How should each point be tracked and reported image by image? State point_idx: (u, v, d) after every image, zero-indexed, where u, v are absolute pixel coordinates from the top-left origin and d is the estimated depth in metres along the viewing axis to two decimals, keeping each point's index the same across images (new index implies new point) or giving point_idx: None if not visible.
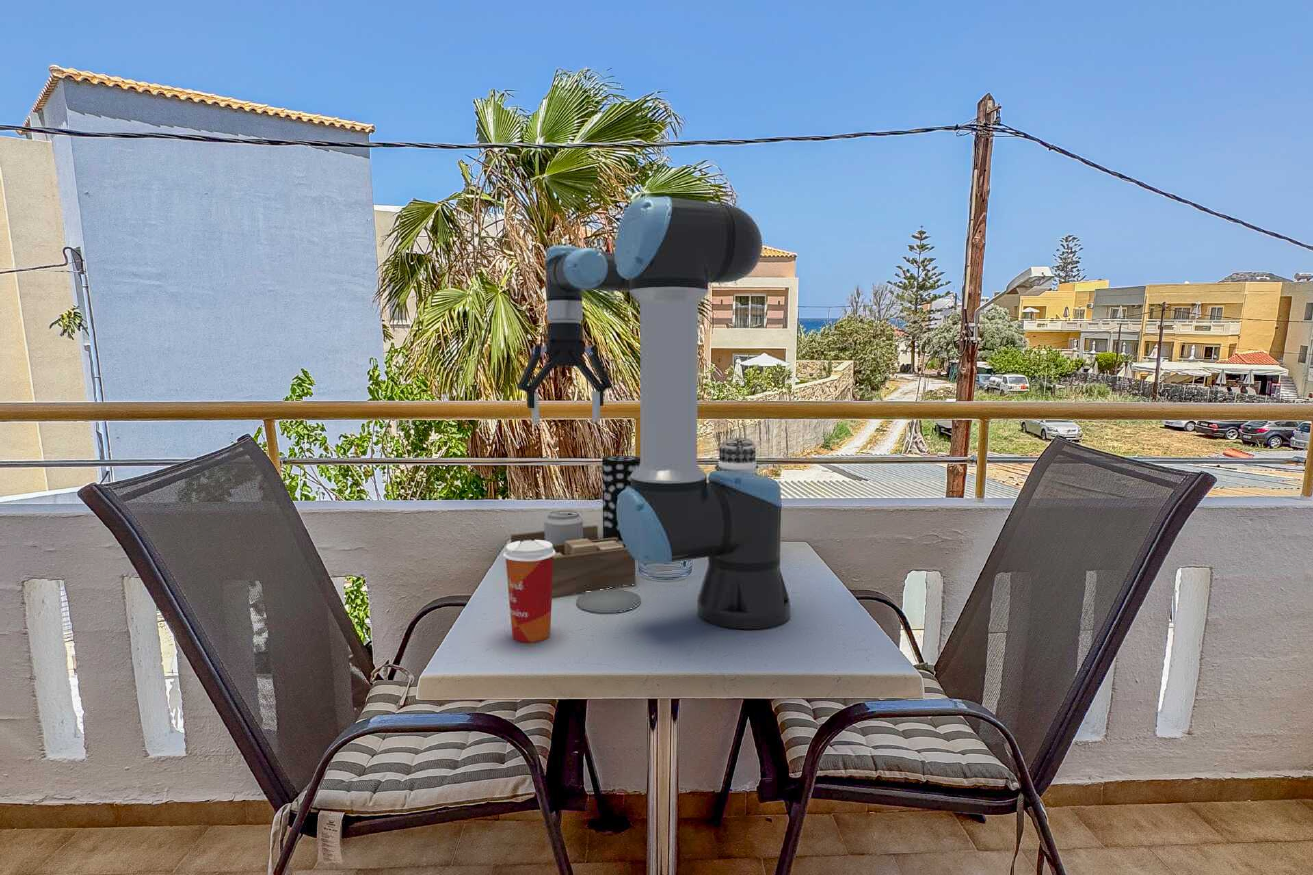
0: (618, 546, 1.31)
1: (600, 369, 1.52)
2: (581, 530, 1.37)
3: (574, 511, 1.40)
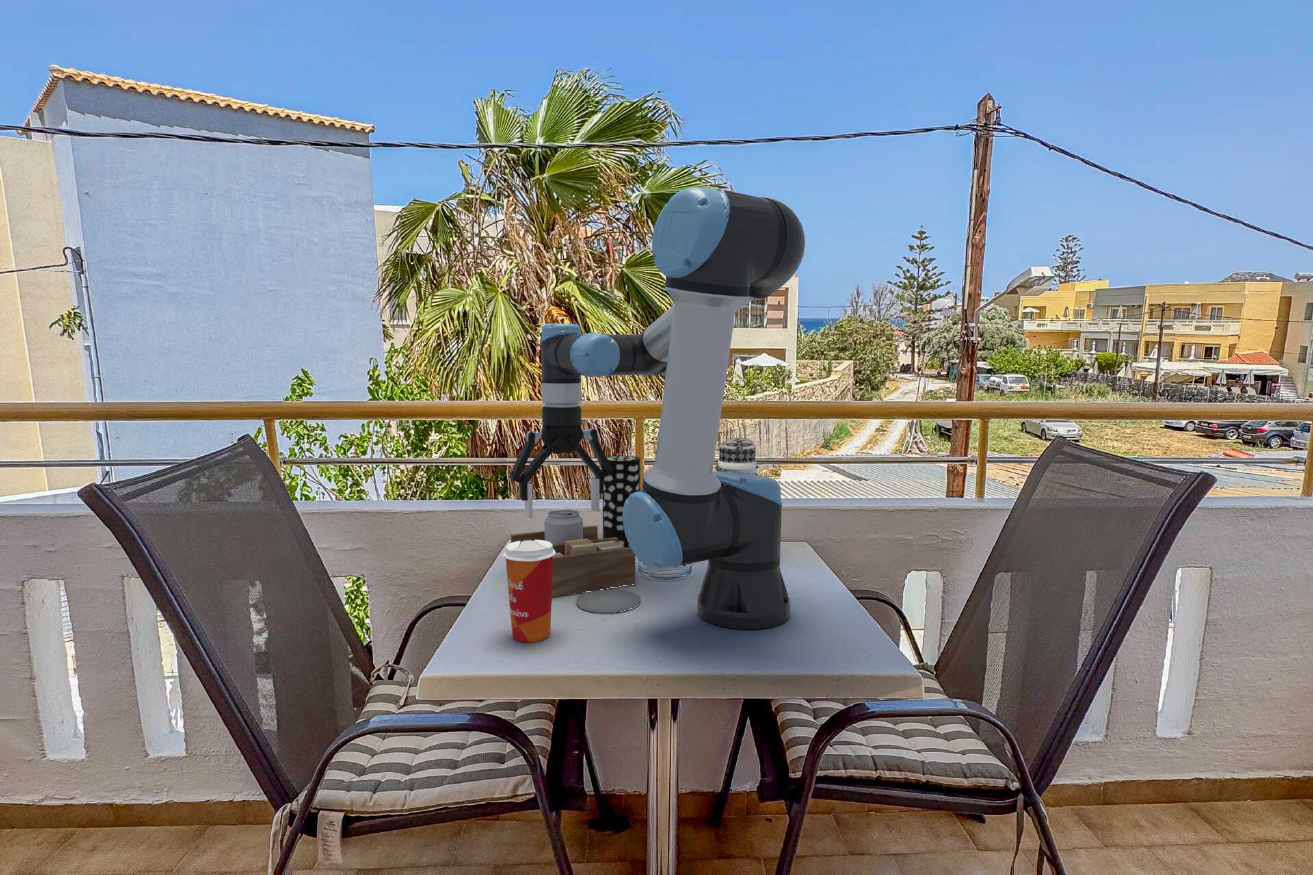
0: (618, 546, 1.31)
1: (600, 454, 1.39)
2: (581, 530, 1.37)
3: (574, 511, 1.40)
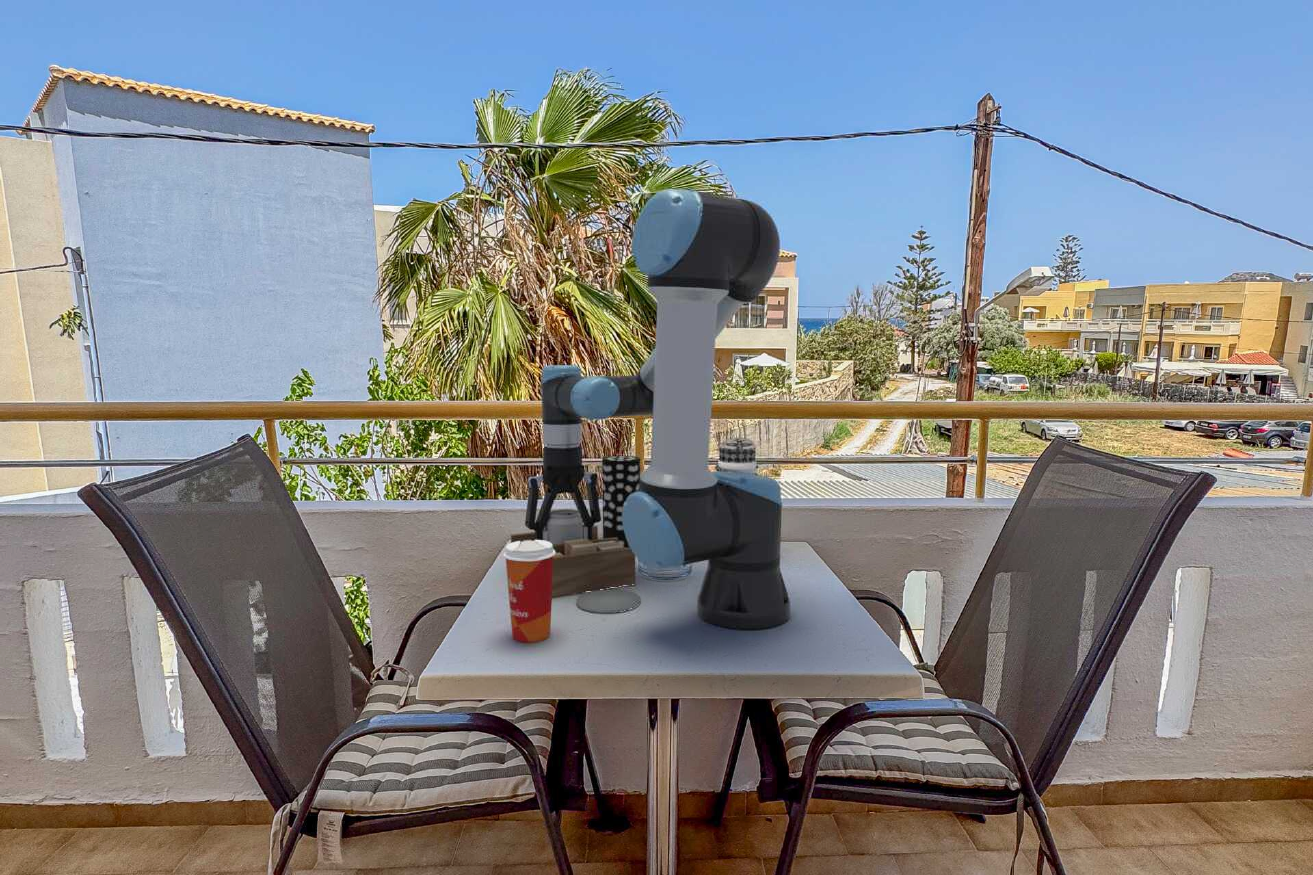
0: (618, 546, 1.31)
1: (594, 500, 1.39)
2: (581, 530, 1.37)
3: (574, 511, 1.40)
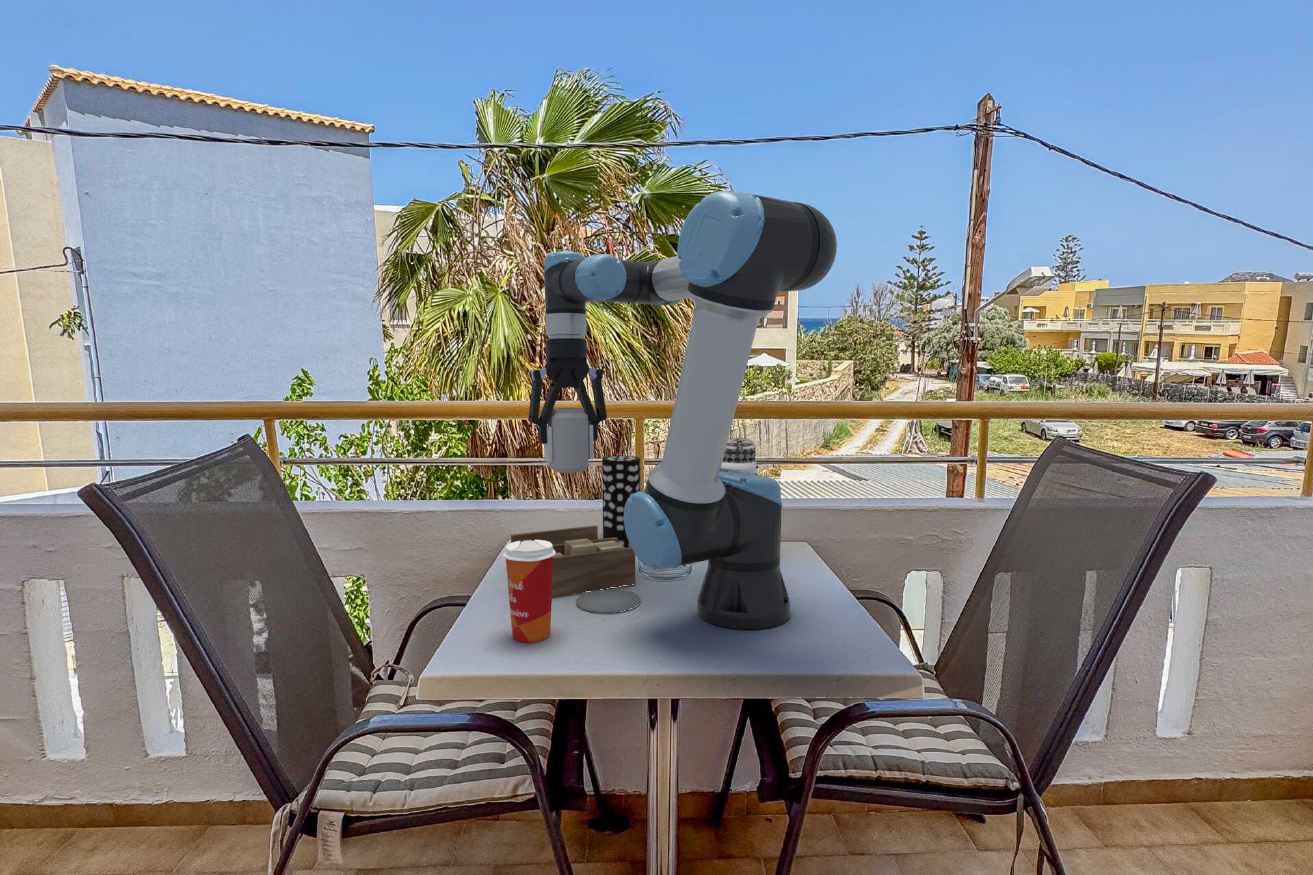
0: (618, 546, 1.31)
1: (599, 396, 1.34)
2: (586, 426, 1.32)
3: (579, 409, 1.35)
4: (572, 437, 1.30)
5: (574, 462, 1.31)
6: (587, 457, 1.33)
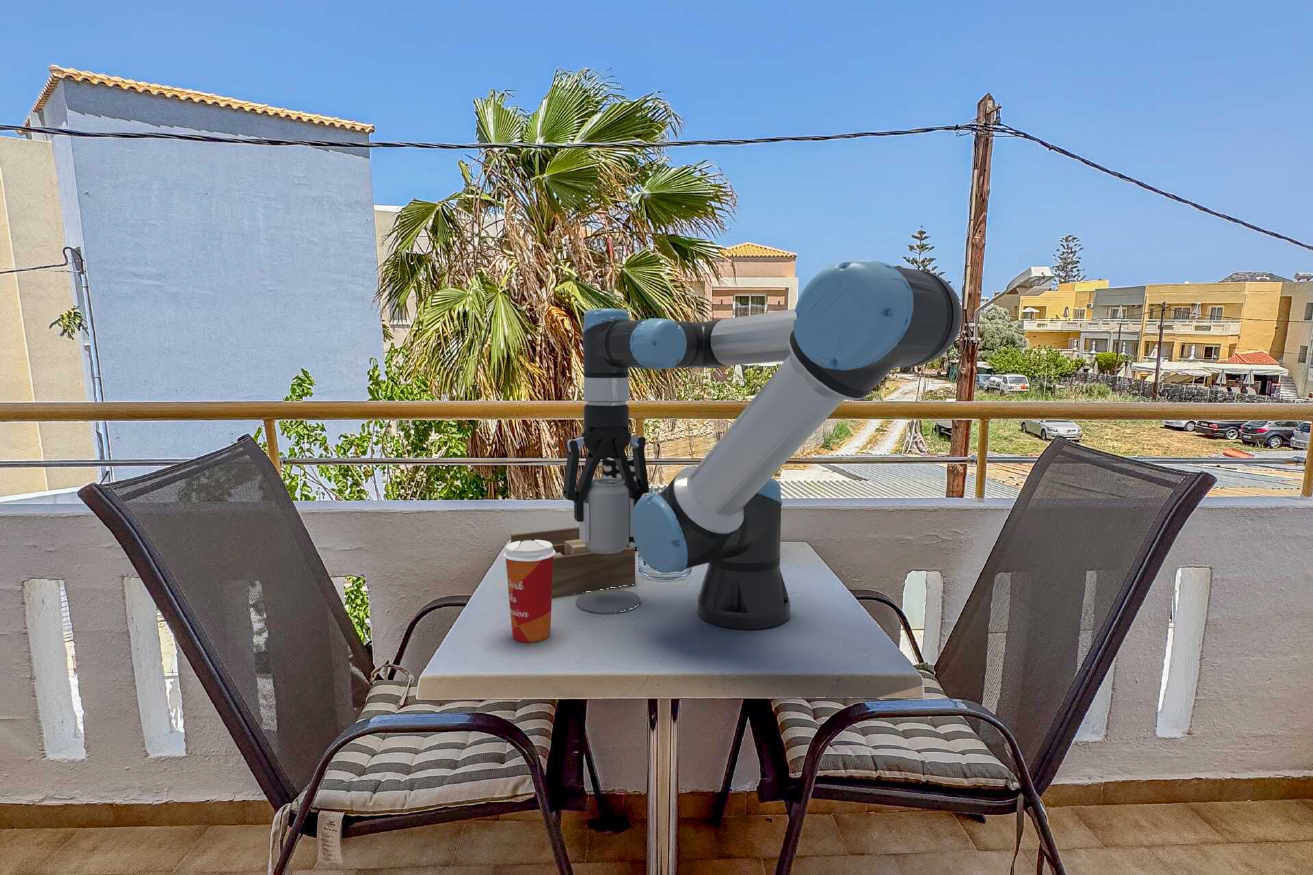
0: None
1: (641, 467, 1.20)
2: (627, 501, 1.19)
3: (618, 480, 1.21)
4: (612, 515, 1.16)
5: (614, 543, 1.17)
6: (627, 535, 1.19)
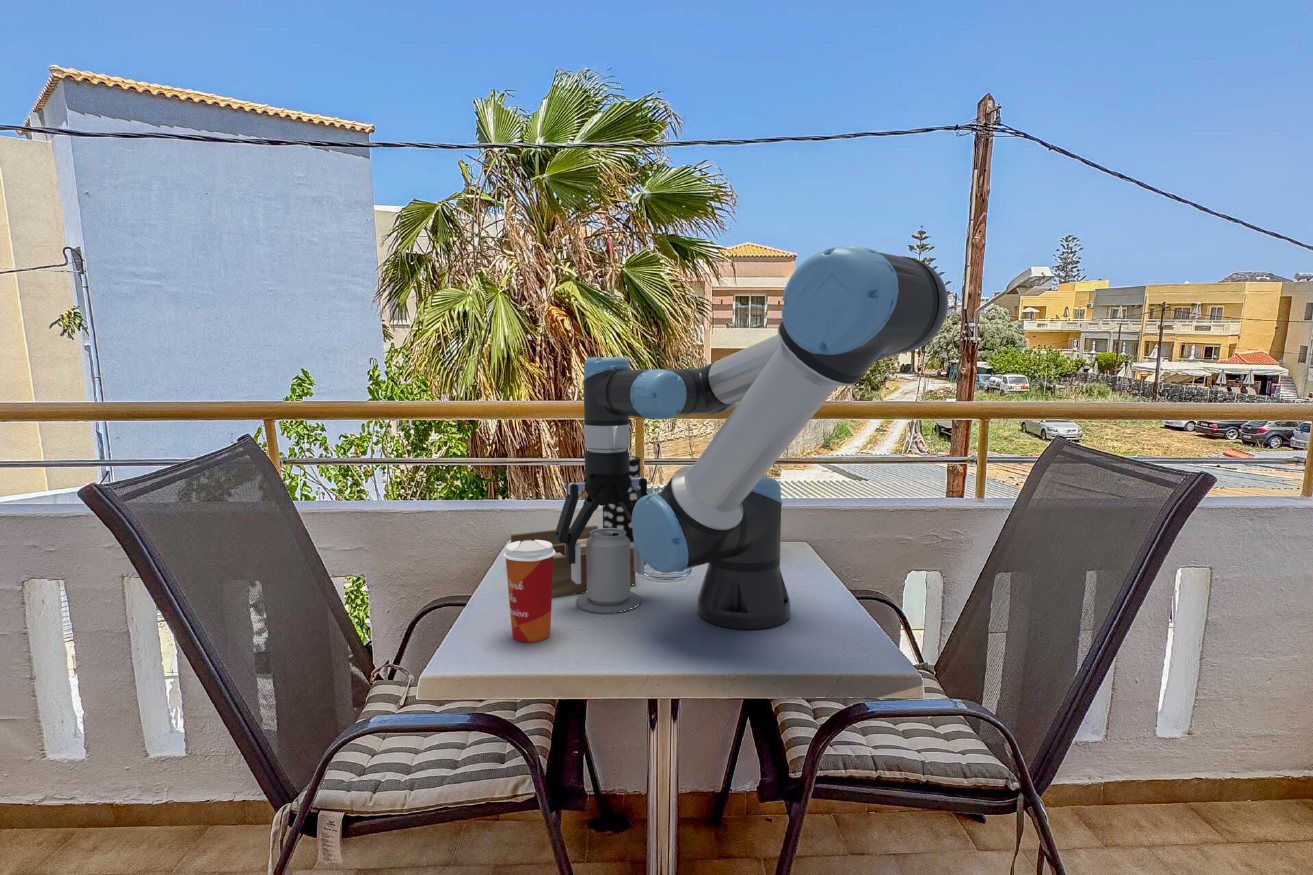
0: None
1: None
2: (628, 552, 1.19)
3: (619, 530, 1.22)
4: (613, 567, 1.17)
5: (616, 594, 1.18)
6: (629, 586, 1.20)
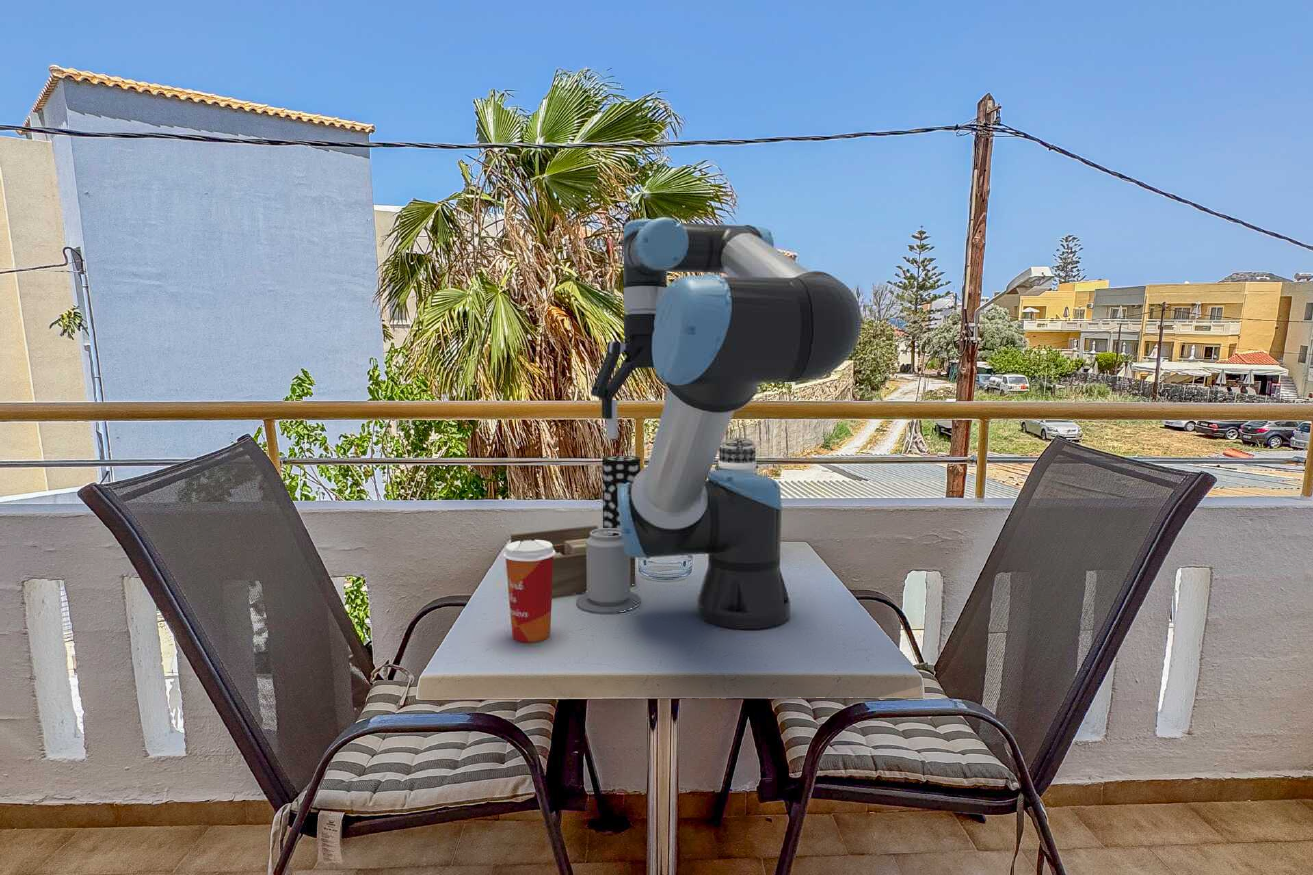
0: None
1: None
2: None
3: (619, 530, 1.22)
4: (613, 567, 1.17)
5: (616, 594, 1.18)
6: (629, 586, 1.20)
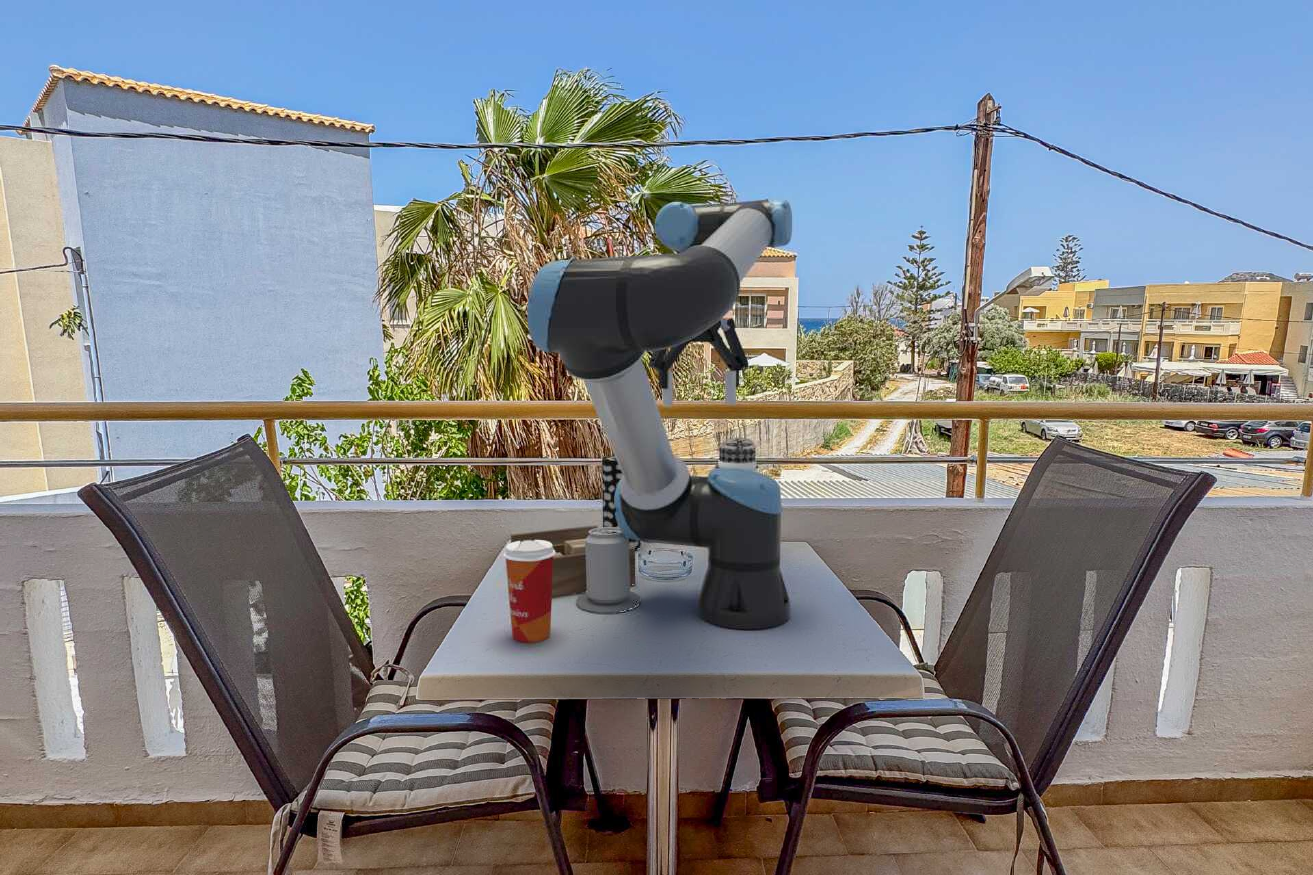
0: None
1: (737, 345, 1.35)
2: (627, 550, 1.20)
3: (618, 529, 1.22)
4: (613, 565, 1.17)
5: (615, 592, 1.18)
6: (628, 584, 1.20)
